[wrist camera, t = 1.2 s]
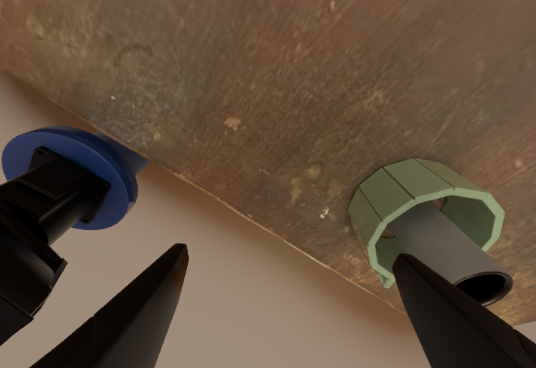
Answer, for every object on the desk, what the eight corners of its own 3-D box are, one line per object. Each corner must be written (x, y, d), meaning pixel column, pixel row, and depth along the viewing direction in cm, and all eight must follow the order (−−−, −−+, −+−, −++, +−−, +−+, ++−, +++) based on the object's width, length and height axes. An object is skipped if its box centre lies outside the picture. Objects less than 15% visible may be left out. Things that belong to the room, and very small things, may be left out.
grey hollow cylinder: (430, 199, 24) (528, 286, 15) (398, 226, 26) (467, 318, 17) (401, 180, 22) (489, 263, 14) (369, 210, 24) (428, 300, 16)
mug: (373, 150, 21) (405, 178, 16) (477, 168, 22) (536, 200, 17) (328, 250, 28) (341, 291, 23) (408, 260, 29) (436, 301, 24)
